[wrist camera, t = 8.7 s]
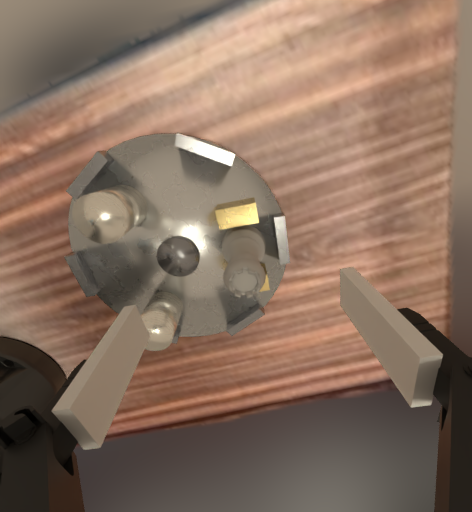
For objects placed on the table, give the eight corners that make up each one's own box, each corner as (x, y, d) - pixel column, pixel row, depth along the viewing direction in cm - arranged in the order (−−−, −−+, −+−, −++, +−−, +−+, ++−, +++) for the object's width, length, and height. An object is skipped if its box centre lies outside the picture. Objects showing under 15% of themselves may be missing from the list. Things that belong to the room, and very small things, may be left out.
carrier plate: (126, 339, 32) (101, 382, 26) (35, 163, 22) (-38, 168, 17) (294, 314, 30) (307, 355, 24) (270, 108, 20) (283, 91, 14)
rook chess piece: (218, 226, 23) (208, 260, 16) (262, 220, 23) (272, 252, 16) (225, 265, 25) (219, 312, 18) (266, 260, 25) (277, 306, 18)
